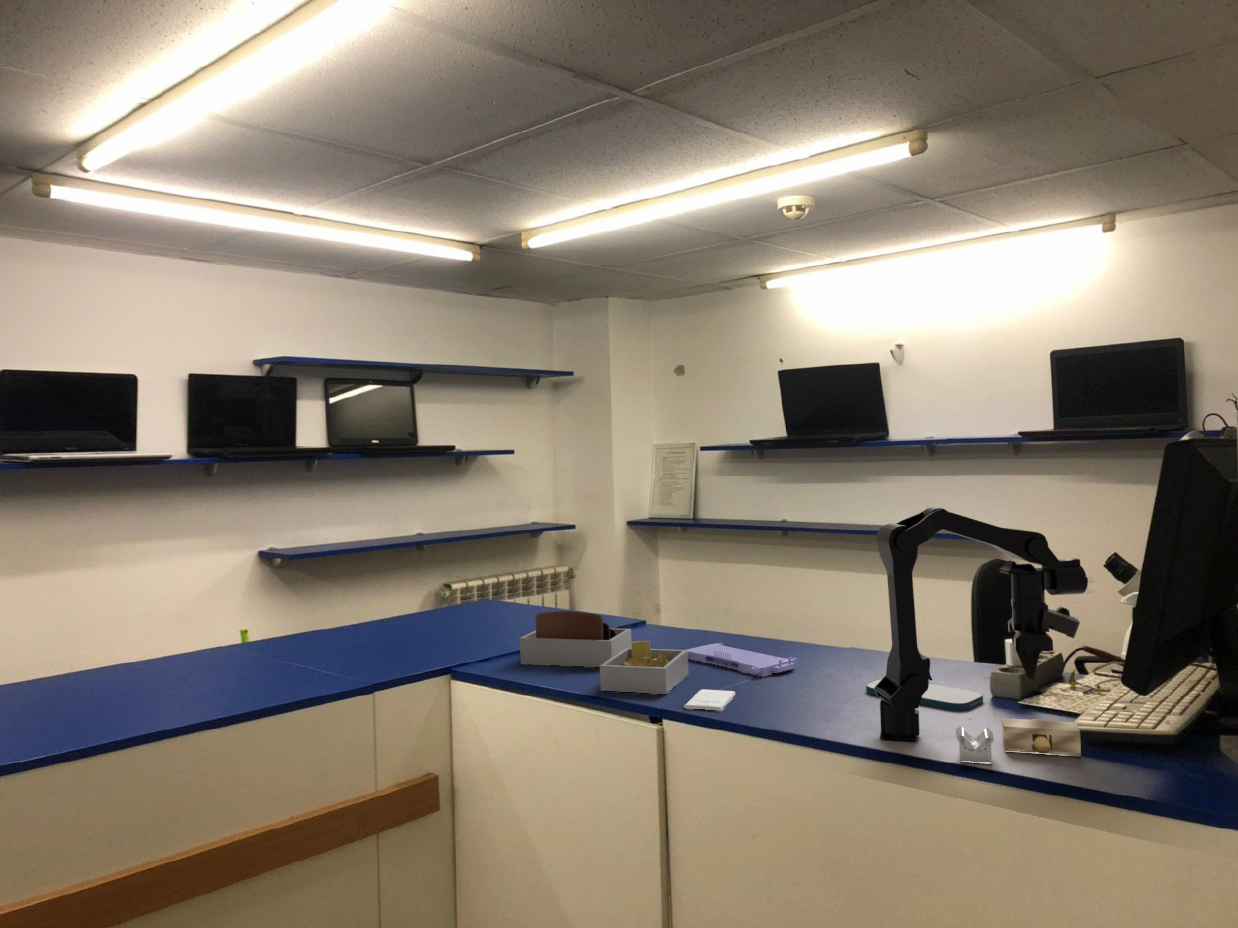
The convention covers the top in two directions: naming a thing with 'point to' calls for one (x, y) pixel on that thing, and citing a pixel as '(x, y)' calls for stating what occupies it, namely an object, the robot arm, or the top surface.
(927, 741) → the top surface
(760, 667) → the computer part
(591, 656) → the holder tray
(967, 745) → the v block
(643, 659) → the ball valve
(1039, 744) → the axle
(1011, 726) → the beam
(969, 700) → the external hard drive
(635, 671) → the tray
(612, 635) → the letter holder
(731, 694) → the external hard drive
